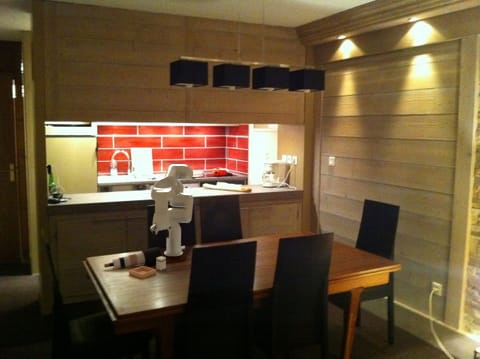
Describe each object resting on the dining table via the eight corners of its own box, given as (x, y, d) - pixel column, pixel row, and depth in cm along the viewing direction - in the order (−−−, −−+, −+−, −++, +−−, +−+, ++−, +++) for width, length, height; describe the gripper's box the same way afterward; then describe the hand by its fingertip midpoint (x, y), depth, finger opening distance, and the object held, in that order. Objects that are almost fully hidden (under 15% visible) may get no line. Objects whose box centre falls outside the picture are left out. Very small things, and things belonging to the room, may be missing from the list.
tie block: (160, 267, 277) (161, 256, 276) (165, 268, 275) (166, 257, 274) (156, 269, 274) (156, 257, 273) (161, 270, 271) (161, 259, 270)
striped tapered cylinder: (105, 275, 272) (102, 259, 275) (159, 264, 286) (156, 248, 289) (106, 272, 264) (103, 256, 266) (162, 261, 277) (159, 245, 280)
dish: (143, 270, 271) (143, 265, 270) (156, 273, 265) (156, 269, 264) (129, 274, 262) (129, 270, 261) (142, 278, 256) (142, 274, 255)
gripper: (167, 208, 279) (166, 235, 281) (146, 212, 265) (146, 240, 266) (176, 210, 275) (175, 237, 276) (155, 213, 260) (155, 242, 262)
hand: (161, 239), depth 271 cm, fingers open, 9 cm apart
